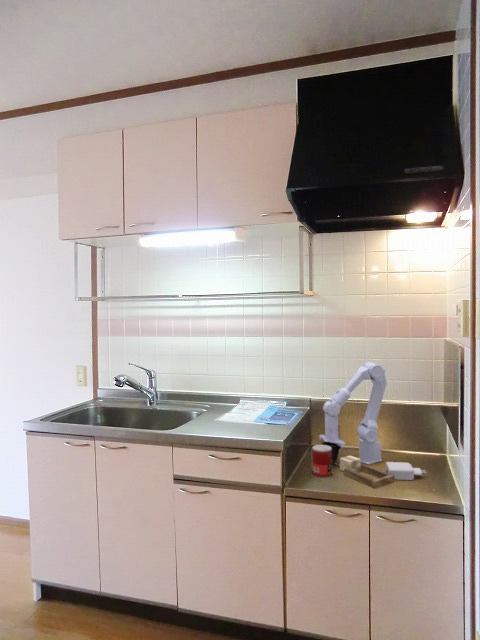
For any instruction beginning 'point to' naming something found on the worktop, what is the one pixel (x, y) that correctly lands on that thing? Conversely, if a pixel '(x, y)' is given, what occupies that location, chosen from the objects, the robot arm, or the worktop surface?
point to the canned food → (322, 460)
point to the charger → (402, 470)
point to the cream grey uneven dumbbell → (349, 463)
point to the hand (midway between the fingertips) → (332, 459)
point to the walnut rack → (382, 478)
